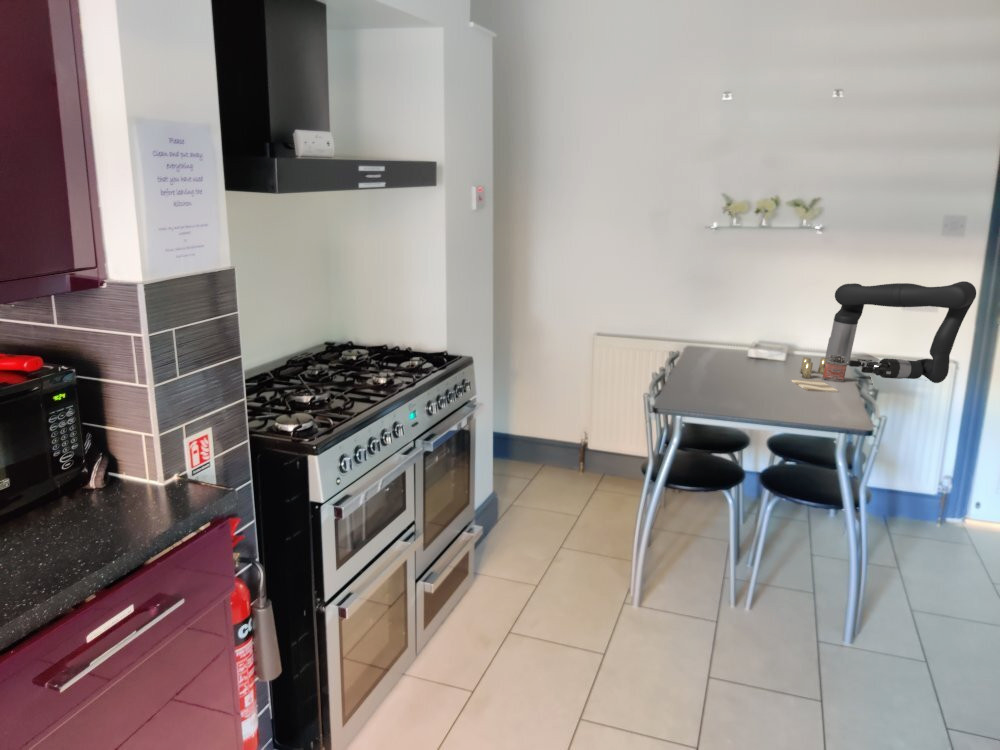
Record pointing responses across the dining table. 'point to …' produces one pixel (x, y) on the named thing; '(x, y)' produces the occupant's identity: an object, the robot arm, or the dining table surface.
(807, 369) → the spacer posts
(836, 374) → the lighter
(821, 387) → the pad
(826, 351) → the robot arm
